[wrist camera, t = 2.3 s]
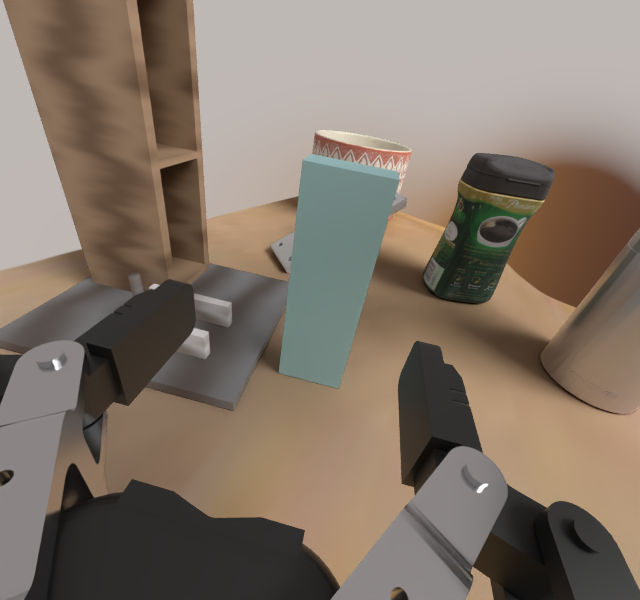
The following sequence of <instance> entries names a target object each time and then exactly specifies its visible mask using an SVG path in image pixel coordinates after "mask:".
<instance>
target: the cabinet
mask: <svg viewBox="0 0 640 600" xmlns="http://www.w3.org/2000/svg"><path fill="white" fill-rule="evenodd" d="M3 2H4V5H5V8H6V11H7V14H8V17H9V20H10V24H11V27H12V30H13V33H14V36H15V39H16V43H17V46H18V48H19V52H20V55H21V58H22V61H23V65H24V68H25V71H26V74H27V77H28V80H29V83H30V86H31V90H32V93H33V96H34V99H35V102H36V105H37V108H38V112H39V115H40V118H41V121H42V124H43V127H44V130H45V134H46V137H47V140H48V143H49V146H50V149H51V152H52V156H53V159H54V162H55V165H56V168H57V171H58V174H59V177H60V181H61V183H62V187H63V190H64V193H65V196H66V199H67V202H68V206H69V209H70V212H71V215H72V218H73V221H74V225H75V227H76V231H77V234H78V237H79V240H80V243H81V247H82V250H83V253H84V256H85V259H86V262H87V265H88V269H89V272H90V275H91V277H89V278H87V279H85V280H84V281H82V282H80V283H79V284H77V285H75V286H73V287H72V288H70V289H68V290H67V291H65V292H63V293H61V294H60V295H58V296H56V297H55V298H53V299H51V300H49V301H48V302H46V303H44V304H42V305H41V306H39V307H37V308H36V309H34V310H32V311H30V312H29V313H27V314H25V315H24V316H22V317H20V318H18V319H17V320H15V321H13V322H12V323H10V324H8V325H6V326H5V327H3V328H1V329H0V348H4V349H7V350H11V351H15V352H19V353H22V354H25V353H26V352H28V351H29V350H31V349H33V348H35V347H37V346H40V345H42V344H45V343H49V342H54V341H63V340H67V341H74V340H75V339H77V338H78V337H79V336H81V335H82V334H84V333H85V332H86V331H88V330H89V329H90V328H92V327H93V326H94V325H96V324H97V323H98V322H100V321H101V320H102V319H104V318H105V317H107V316H108V315H109V314H111V313H114V311H115V310H116V309H117V308H119V307H120V306H123V305H124V303H125V302H127V301H128V300H130V299H131V298H132V297H134V296H135V295H137V294H140V293H142V292H145V291H147V290H150V289H153V290H154V289H156V288H157V287H158V286H159V285H161V284H162V283H163V282H165V281H166V280H168V279H172V280H176V281H180V282H184V283H188V284H191V285H192V287H193V290H194V302H195V315H196V322H195V326H194V329H193V331H192V333H191V335H190V336H189V337H188V338H187V339H186V340H185V342H184V343H183V344H182V345H181V346H180V347H179V348H178V350H177V351H176V352H175V353H174V354H173V355H172V356H171V358H170V359H169V360H168V361H167V362H166V363H165V364H164V366H163V367H162V368H161V369H160V370H159V371H158V373H157V374H156V375H155V376H154V377H153V378H152V379H151V381H150V382H149V383H148V384H147V385H146V386H145V387H148V388H151V389H155V390H159V391H162V392H166V393H170V394H173V395H177V396H181V397H184V398H188V399H192V400H195V401H199V402H203V403H207V404H210V405H214V406H218V407H221V408H225V409H229V410H232V411H233V410H234V408H235V406H236V405H237V403H238V401H239V399H240V397H241V395H242V393H243V391H244V389H245V387H246V385H247V383H248V381H249V379H250V377H251V375H252V373H253V371H254V369H255V367H256V365H257V363H258V361H259V359H260V357H261V355H262V353H263V351H264V349H265V347H266V345H267V343H268V341H269V339H270V337H271V335H272V333H273V331H274V329H275V327H276V325H277V323H278V322H279V320H280V318H281V316H282V314H283V312H284V310H285V308H286V304H287V295H288V286H289V282H286V281H282V280H278V279H274V278H269V277H265V276H261V275H257V274H252V273H248V272H244V271H240V270H236V269H231V268H227V267H223V266H219V265H214V264H210V263H209V256H208V240H207V223H206V207H205V190H204V174H203V157H202V141H201V124H200V108H199V91H198V76H197V59H196V42H195V26H194V9H193V0H3Z"/></svg>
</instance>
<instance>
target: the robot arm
mask: <svg viewBox="0 0 640 600" xmlns="http://www.w3.org/2000/svg"><path fill="white" fill-rule="evenodd" d="M195 322H196V315H195V302H194V290H193V287H192V285H191V284H188V283H184V282H180V281H176V280H172V279H168V280H166V281H165V282H163V283H162V284H161V285H159V286H158V287H157V288H156V289H154V290H153V289H150V290H147V291H145V292H142V293H140V294H137V295H135V296H134V297H132V298H131V299H130V300H128V301H127V302H125V303H124V305H123V306H120V307H119V308H117V309H116V310H115V311H114V313H111V314H109V315H108V316H107V317H105V318H104V319H102V320H101V321H100V322H98V323H97V324H96V325H94V326H93V327H92V328H90V329H89V330H88V331H86V332H85V333H84V334H82V335H81V336H79V337H78V338H77V339H75V340H74V341H67V340H63V341H54V342H49V343H45V344H42V345H40V346H37V347H35V348H33V349H31V350H29V351H28V352H26V353H25V354H24V355H0V600H465V599H466V597H467V595H468V593H469V591H470V588H471V586H472V583H473V575H472V574H471V569H472V567H474V568H476V569H477V570H479V571H480V572H482V573H483V574H484V575H486V576H487V577H489V578H490V580H491V586H492V592H493V597H494V600H640V590H639V588H638V586H637V584H636V582H635V580H634V578H633V576H632V574H631V571H630V569H629V567H628V565H627V563H626V561H625V559H624V557H623V555H622V553H621V551H620V549H619V547H618V545H617V543H616V542H615V540H614V539H613V537H612V536H611V535H610V533H609V532H608V531H607V530H606V529H605V527H604V526H603V525H602V524H601V523H600V522H599V521H598V520H597V519H595V518H594V517H593V516H592V515H591V514H589V513H588V512H587V511H585V510H584V509H582V508H580V507H578V506H576V505H574V504H572V503H569V502H565V501H558V502H555V503H553V504H551V505H550V506H549V507H547V508H546V507H544V506H543V505H541V504H539V503H537V502H536V501H534V500H532V499H531V498H529V497H527V496H525V495H524V494H522V493H520V492H518V491H517V490H515V489H513V488H512V487H510V486H509V485H508V484H506V481H505V478H504V476H503V474H502V473H501V471H500V470H499V468H498V467H497V466H496V465H495V463H494V462H493V461H492V460H491V459H489V458H488V457H487V456H486V455H484V454H483V451H482V448H481V444H480V441H479V437H478V434H477V430H476V427H475V423H474V419H473V416H472V412H471V409H470V407H469V401H468V398H467V395H466V391H465V387H464V384H463V380H462V378H461V376H460V375H459V374H458V372H457V371H456V369H455V368H454V367H453V365H449V364H445V363H444V361H443V356H442V352H441V348H440V347H439V346H436V345H432V344H428V343H424V342H420V341H416V342H415V343H414V345H413V347H412V349H411V352H410V354H409V356H408V358H407V361H406V363H405V365H404V367H403V369H402V372H401V375H400V378H399V384H398V401H399V426H400V451H401V476H402V484H405V485H408V486H412V487H414V492H415V496H414V497H413V499H412V500H411V501H410V502H409V503H408V505H406V506H405V507H404V509H403V510H402V511H401V512H400V514H399V515H398V516H397V517H396V519H395V520H394V521H393V522H392V524H391V525H390V526H389V527H388V529H387V530H386V531H385V532H384V534H383V535H382V536H381V537H380V539H379V540H378V541H377V542H376V544H375V545H374V546H373V547H372V549H371V550H370V551H369V552H368V554H367V555H366V556H365V557H364V559H363V560H362V561H361V562H360V564H359V565H358V566H357V567H356V569H355V570H354V571H353V572H352V574H351V575H350V576H349V577H348V579H347V580H346V581H345V582H344V584H343V585H342V586H341V587H340V586H339V584H338V582H337V580H336V579H335V577H334V576H333V574H332V573H331V571H330V570H329V568H328V567H327V566H326V565H325V563H324V562H323V561H322V560H321V559H320V557H318V556H317V555H316V554H315V553H314V552H313V551H312V550H311V549H309V548H308V547H307V546H305V545H304V544H302V542H303V537H304V532H305V530H302V529H299V528H295V527H292V526H288V525H285V524H282V523H278V522H275V521H272V520H268V519H265V518H261V517H256V518H212V517H209V516H207V515H206V514H204V513H203V512H201V511H200V510H199V509H197V508H196V507H194V506H193V505H192V504H190V503H189V502H187V501H186V500H185V499H183V498H182V497H180V496H179V495H178V494H176V493H175V492H173V491H170V490H167V489H163V488H160V487H157V486H153V485H150V484H147V483H143V482H140V481H136V480H133V479H132V480H131V482H130V483H129V485H128V486H127V487H126V489H125V490H124V492H120V493H113V494H107V488H106V482H105V475H104V466H105V450H106V433H107V417H108V415H107V411H106V409H107V408H108V407H109V406H110V405H111V404H112V403H113V402H116V403H119V404H123V405H127V406H129V405H130V403H131V402H132V401H133V400H134V399H135V398H136V397H137V395H138V394H139V393H140V392H141V391H142V390H143V389H144V387H145V386H146V385H147V384H148V383H149V382H150V381H151V379H152V378H153V377H154V376H155V375H156V374H157V373H158V371H159V370H160V369H161V368H162V367H163V366H164V364H165V363H166V362H167V361H168V360H169V359H170V358H171V356H172V355H173V354H174V353H175V352H176V351H177V350H178V348H179V347H180V346H181V345H182V344H183V343H184V342H185V340H186V339H187V338H188V337H189V336H190V335H191V333H192V331H193V329H194V326H195ZM540 359H541V362H542V365H543V366H544V368H545V370H546V371H547V372H548V373H549V375H550V376H551V377H552V378H553V379H554V380H555V381H556V382H557V383H558V384H559V385H561V386H562V387H563V388H565V389H566V390H567V391H568V392H570V393H572V394H573V395H575V396H576V397H578V398H579V399H581V400H583V401H585V402H587V403H589V404H591V405H593V406H595V407H598V408H600V409H603V410H606V411H609V412H613V413H619V414H630V413H632V412H635V411H636V410H637V409H638V408H640V228H639V229H638V231H637V232H636V233H635V235H634V236H633V237H632V238H631V240H630V241H629V243H628V244H627V245H626V246H625V248H624V249H623V250H622V251H621V253H620V254H619V255H618V256H617V258H616V259H615V260H614V261H613V263H612V264H611V265H610V266H609V268H608V269H607V270H606V272H605V273H604V274H603V275H602V277H601V278H600V279H599V280H598V282H597V283H596V284H595V285H594V287H593V288H592V289H591V291H590V292H589V293H588V294H587V296H586V297H585V298H584V299H583V301H582V302H581V303H580V304H579V306H578V307H577V308H576V309H575V311H574V312H573V313H572V315H571V316H570V317H569V318H568V320H567V321H566V322H565V323H564V325H563V326H562V327H561V328H560V329H559V331H558V332H557V333H556V335H555V336H554V337H553V338H552V340H551V341H550V342H549V344H548V345H547V346H546V347H545V349H544V350H543V351H542V353H541V356H540Z"/></svg>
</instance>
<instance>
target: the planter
mask: <svg viewBox="0 0 640 600" xmlns="http://www.w3.org/2000/svg"><path fill="white" fill-rule="evenodd" d="M411 153H412V149H411V148H409V147H407V146H404V145H402V144H399V143H395V142H392V141H388V140H384V139H380V138H376V137H371V136H366V135H361V134H355V133H349V132H342V131H333V130H317V131H315V137H314V145H313V153H312V154H314V155H319V156H324V157H329V158H334V159H339V160H344V161H349V162H354V163H358V164H363V165H368V166H373V167H378V168H383V169H388V170H393V171H398V172H399V178H400V181H399V184H398V188H397V191H396V192H398V193H400V190H401V186H402V183H403V180H404V176H405V173H406V170H407V166H408V163H409V160H410V156H411ZM392 217H393V214H392V215H391V216H389V219H388V221H389V220H391V219H392Z"/></svg>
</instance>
